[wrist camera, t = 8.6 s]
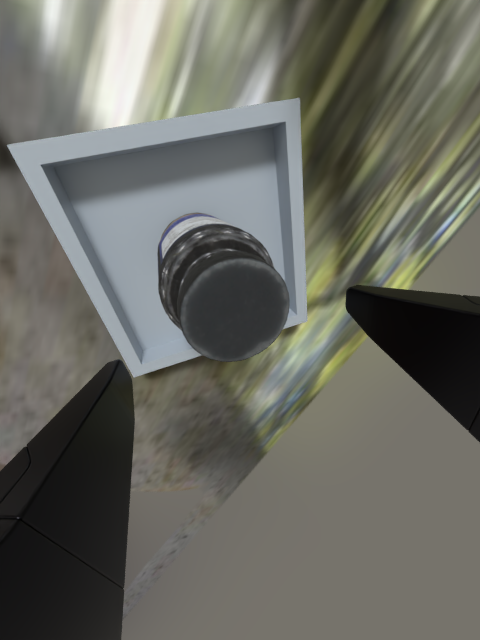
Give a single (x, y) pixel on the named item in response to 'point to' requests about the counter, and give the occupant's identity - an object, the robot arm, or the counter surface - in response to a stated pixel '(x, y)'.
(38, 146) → the tray
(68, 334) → the counter surface
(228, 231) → the pill bottle
